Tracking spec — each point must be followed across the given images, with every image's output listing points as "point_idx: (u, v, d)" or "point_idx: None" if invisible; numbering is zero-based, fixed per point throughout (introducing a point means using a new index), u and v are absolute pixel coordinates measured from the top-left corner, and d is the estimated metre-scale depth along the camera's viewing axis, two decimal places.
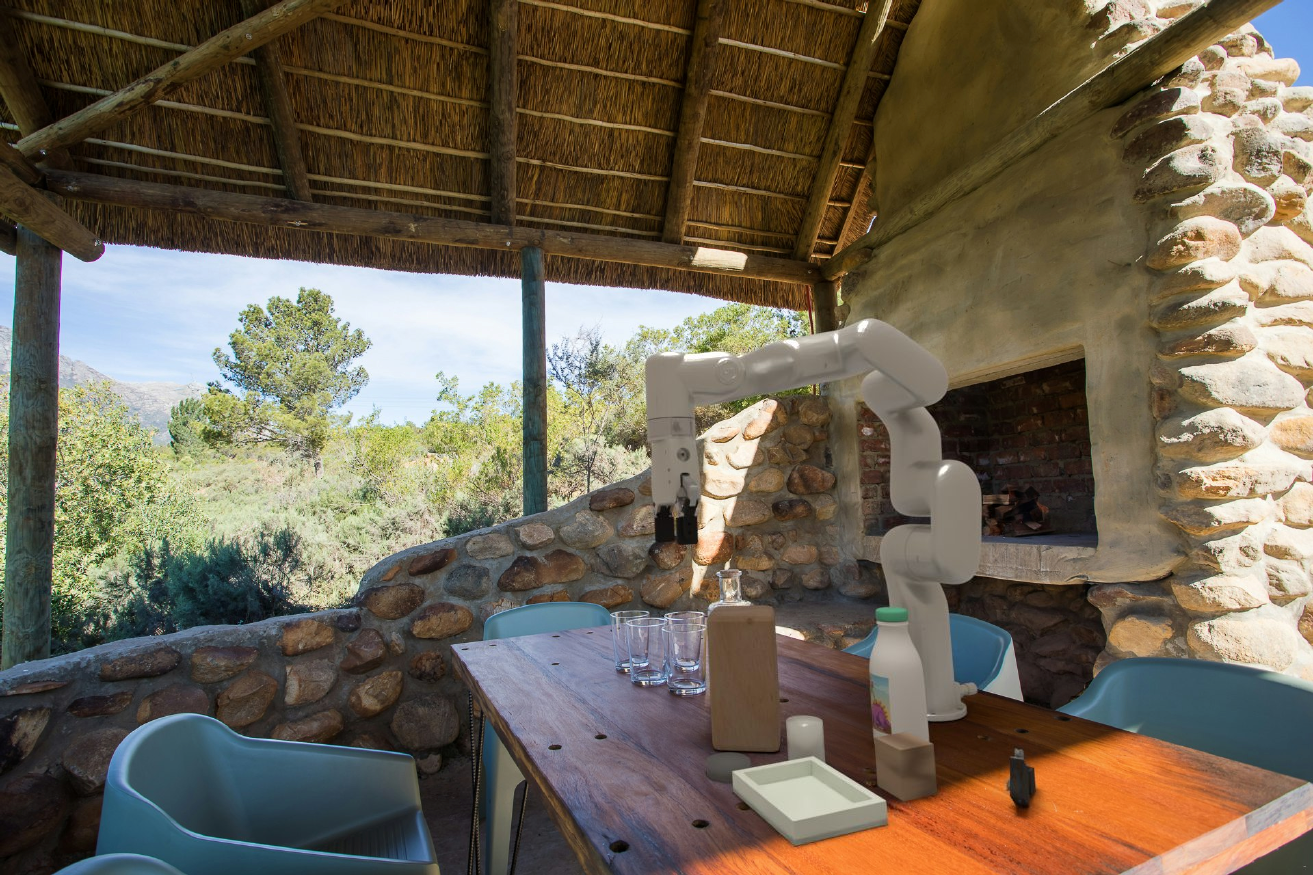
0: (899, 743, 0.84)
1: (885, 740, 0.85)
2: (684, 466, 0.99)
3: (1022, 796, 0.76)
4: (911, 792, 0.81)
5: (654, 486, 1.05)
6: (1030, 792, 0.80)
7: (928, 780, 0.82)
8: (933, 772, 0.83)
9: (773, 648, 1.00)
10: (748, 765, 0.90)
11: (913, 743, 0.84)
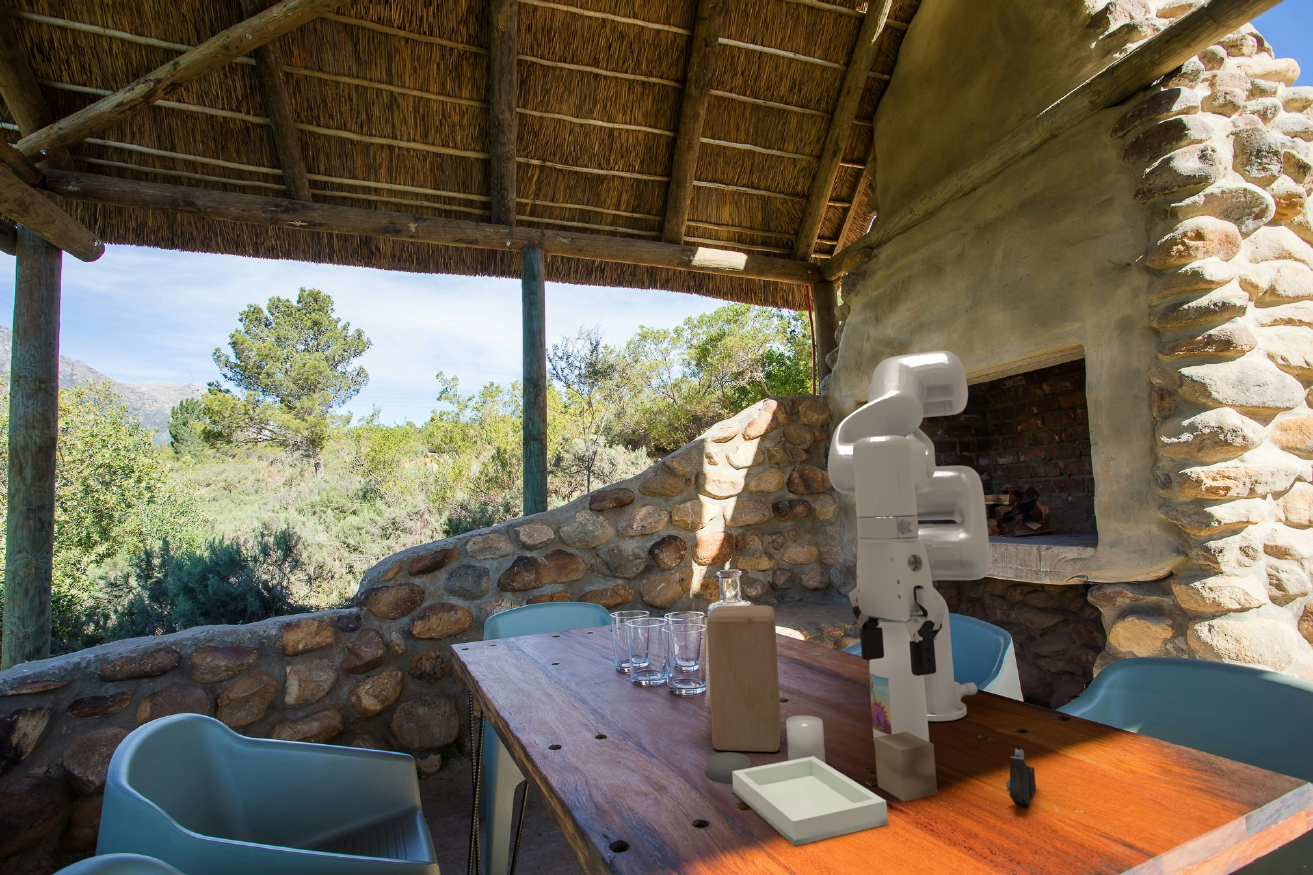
0: (899, 743, 0.84)
1: (885, 740, 0.85)
2: (917, 577, 0.82)
3: (1022, 796, 0.76)
4: (911, 792, 0.81)
5: (865, 594, 0.88)
6: (1030, 792, 0.80)
7: (928, 780, 0.82)
8: (933, 772, 0.83)
9: (773, 648, 1.00)
10: (748, 765, 0.90)
11: (913, 743, 0.84)
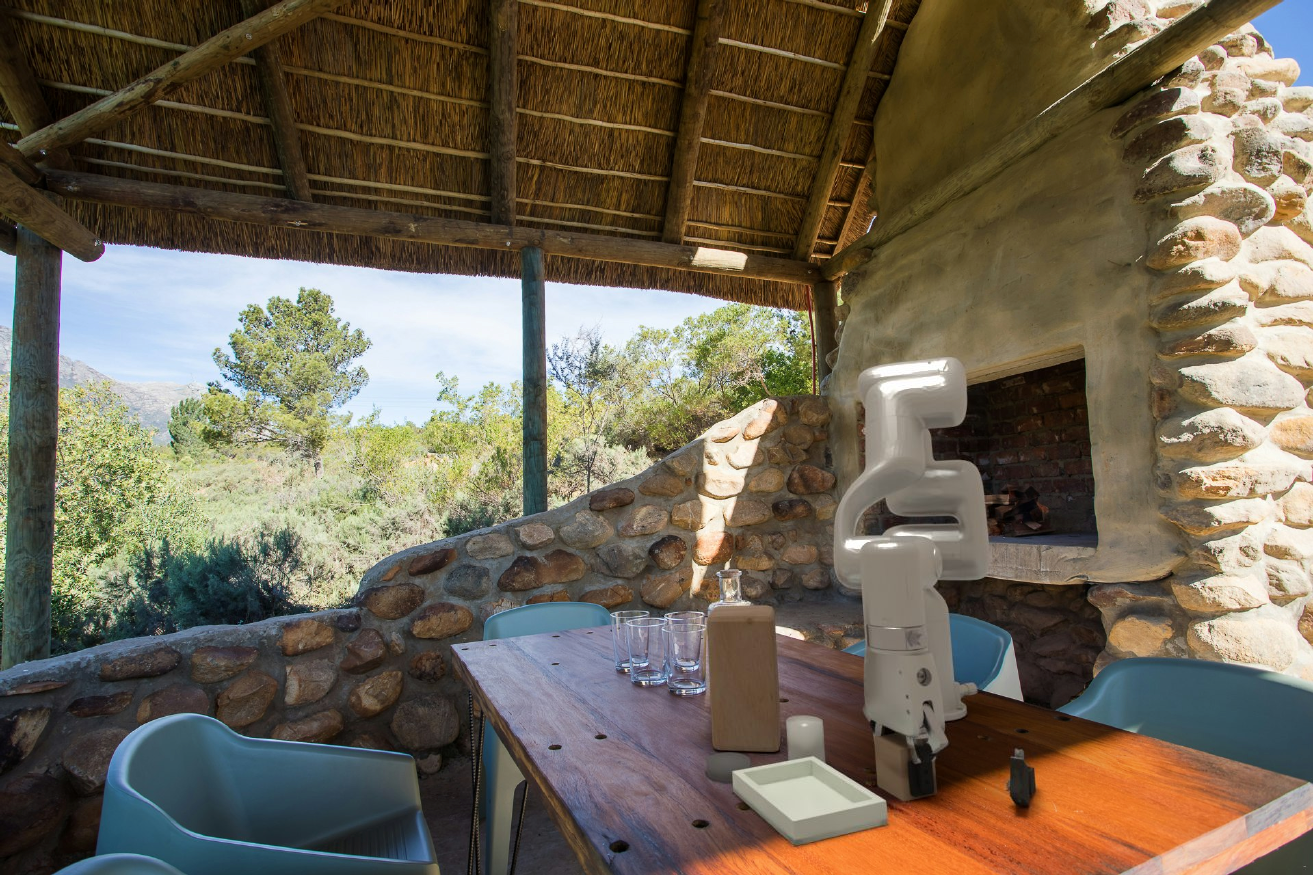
0: (899, 742, 0.84)
1: (885, 740, 0.85)
2: (926, 692, 0.81)
3: (1022, 796, 0.76)
4: None
5: (873, 701, 0.87)
6: (1030, 792, 0.80)
7: None
8: (933, 772, 0.83)
9: (773, 648, 1.00)
10: (748, 765, 0.90)
11: None
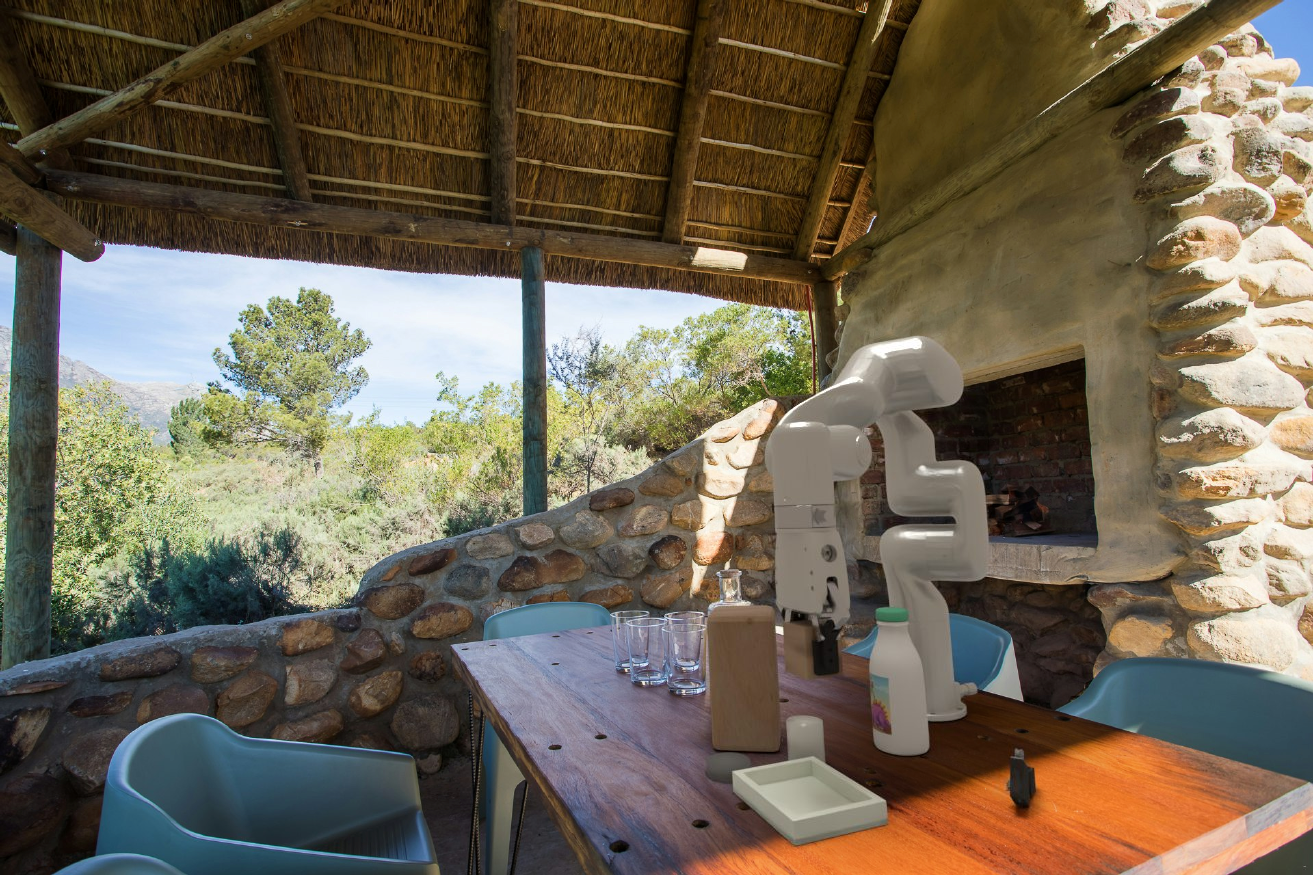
0: (806, 624, 0.82)
1: (792, 623, 0.83)
2: (831, 568, 0.79)
3: (1022, 796, 0.76)
4: None
5: (782, 586, 0.85)
6: (1030, 792, 0.80)
7: None
8: (839, 653, 0.81)
9: (773, 648, 1.00)
10: (748, 765, 0.90)
11: None
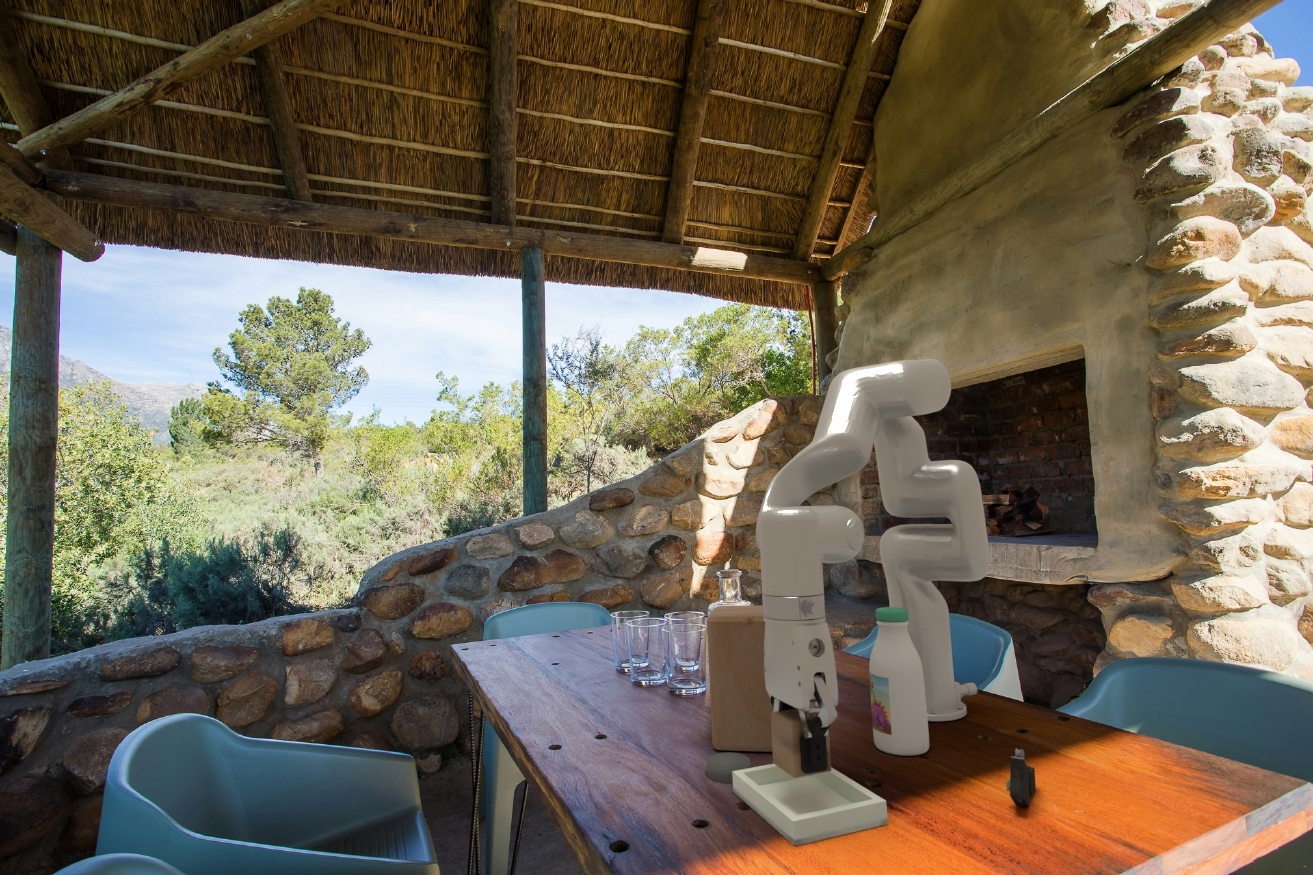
0: (793, 717, 0.80)
1: (780, 715, 0.82)
2: (818, 663, 0.78)
3: (1022, 796, 0.76)
4: None
5: (770, 675, 0.83)
6: (1030, 792, 0.80)
7: None
8: (827, 747, 0.79)
9: None
10: (748, 765, 0.90)
11: None
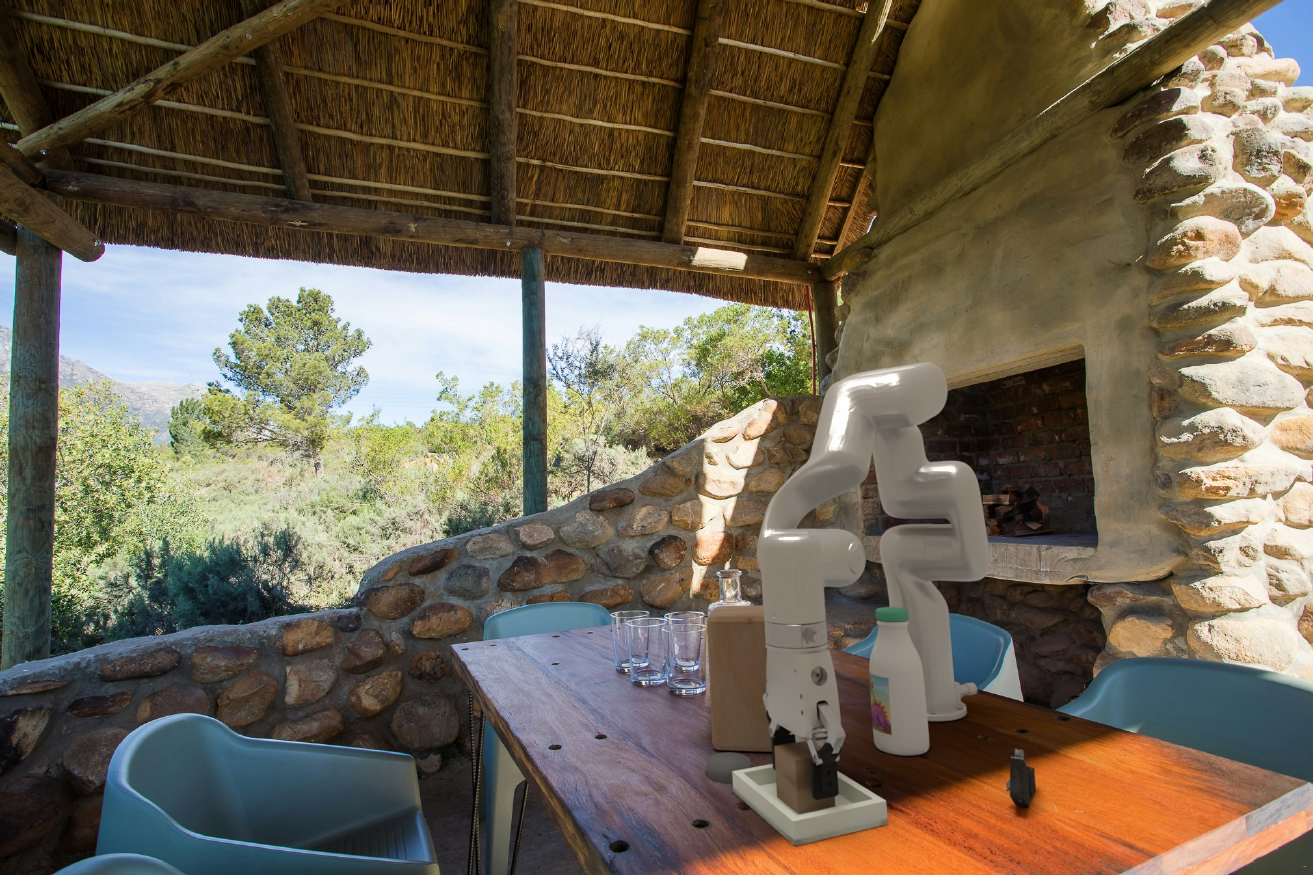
0: (797, 752, 0.80)
1: (784, 749, 0.81)
2: (821, 691, 0.77)
3: (1022, 796, 0.76)
4: (806, 803, 0.78)
5: (773, 701, 0.83)
6: (1030, 792, 0.80)
7: None
8: None
9: None
10: (748, 765, 0.90)
11: None
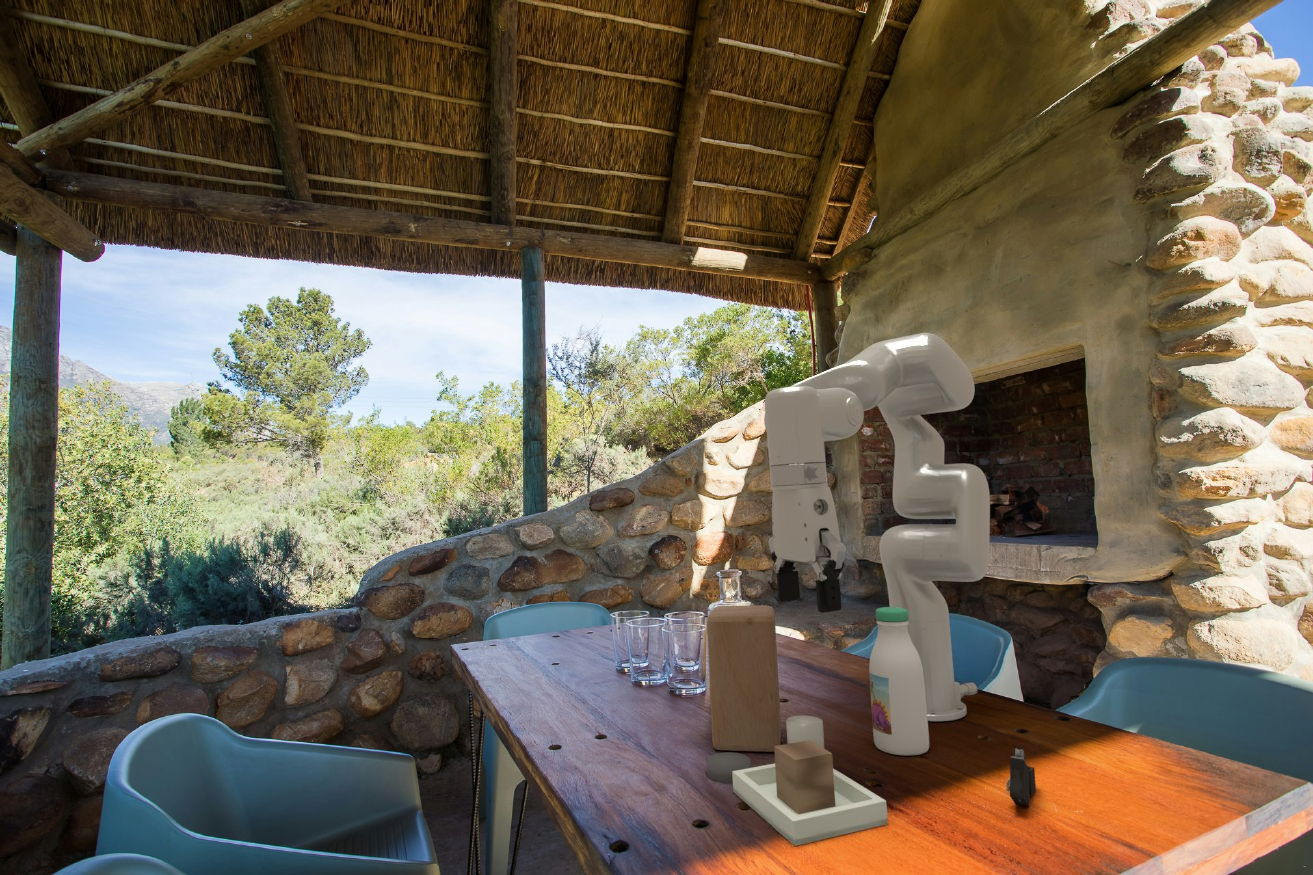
0: (797, 752, 0.80)
1: (784, 749, 0.81)
2: (823, 520, 0.86)
3: (1022, 796, 0.76)
4: (806, 803, 0.78)
5: (779, 539, 0.92)
6: (1030, 792, 0.80)
7: (825, 791, 0.79)
8: (831, 783, 0.79)
9: (773, 648, 1.00)
10: (748, 765, 0.90)
11: (811, 753, 0.80)
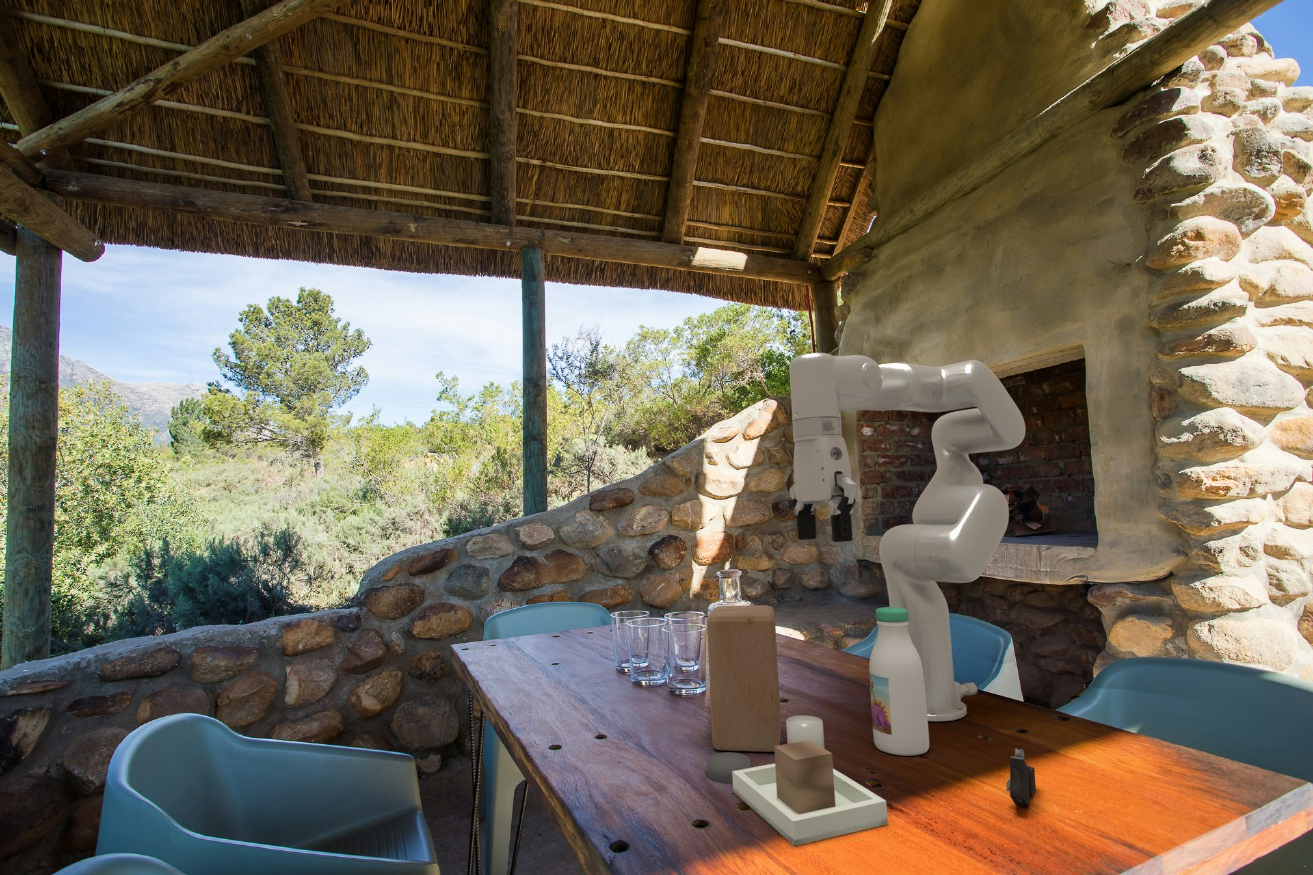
0: (797, 752, 0.80)
1: (784, 749, 0.81)
2: (837, 464, 1.01)
3: (1022, 796, 0.76)
4: (806, 803, 0.78)
5: (799, 484, 1.07)
6: (1030, 792, 0.80)
7: (825, 791, 0.79)
8: (831, 783, 0.79)
9: (773, 648, 1.00)
10: (748, 765, 0.90)
11: (811, 753, 0.80)
